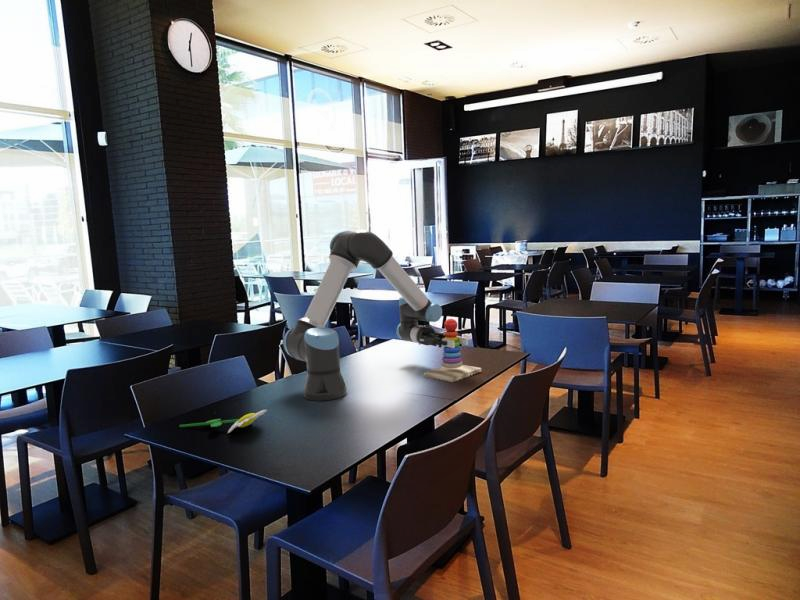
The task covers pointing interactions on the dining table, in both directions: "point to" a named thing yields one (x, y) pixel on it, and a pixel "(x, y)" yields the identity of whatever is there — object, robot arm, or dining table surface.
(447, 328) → the stacking toy
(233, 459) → the dining table surface
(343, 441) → the dining table surface
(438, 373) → the folded striped towel
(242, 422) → the decorative flower
